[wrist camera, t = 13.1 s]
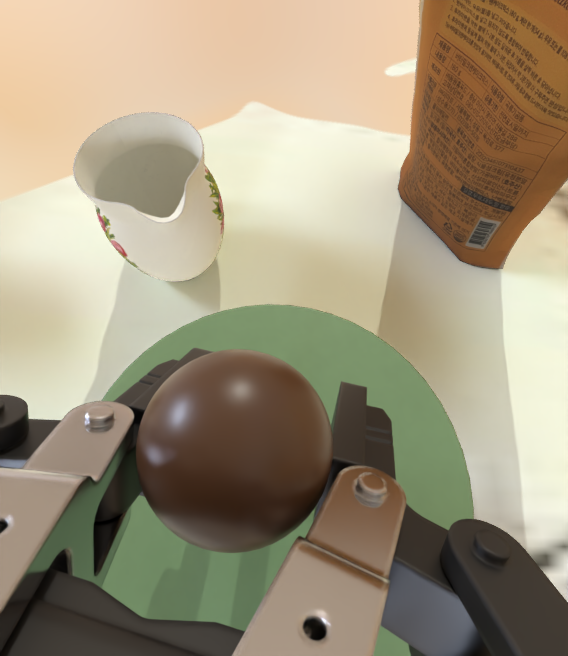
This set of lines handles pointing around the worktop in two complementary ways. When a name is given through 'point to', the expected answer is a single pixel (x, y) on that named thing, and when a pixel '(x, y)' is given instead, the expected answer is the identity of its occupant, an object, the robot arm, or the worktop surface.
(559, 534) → the worktop surface
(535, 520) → the worktop surface
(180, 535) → the lid
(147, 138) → the pitcher
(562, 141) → the pancake mix bag
